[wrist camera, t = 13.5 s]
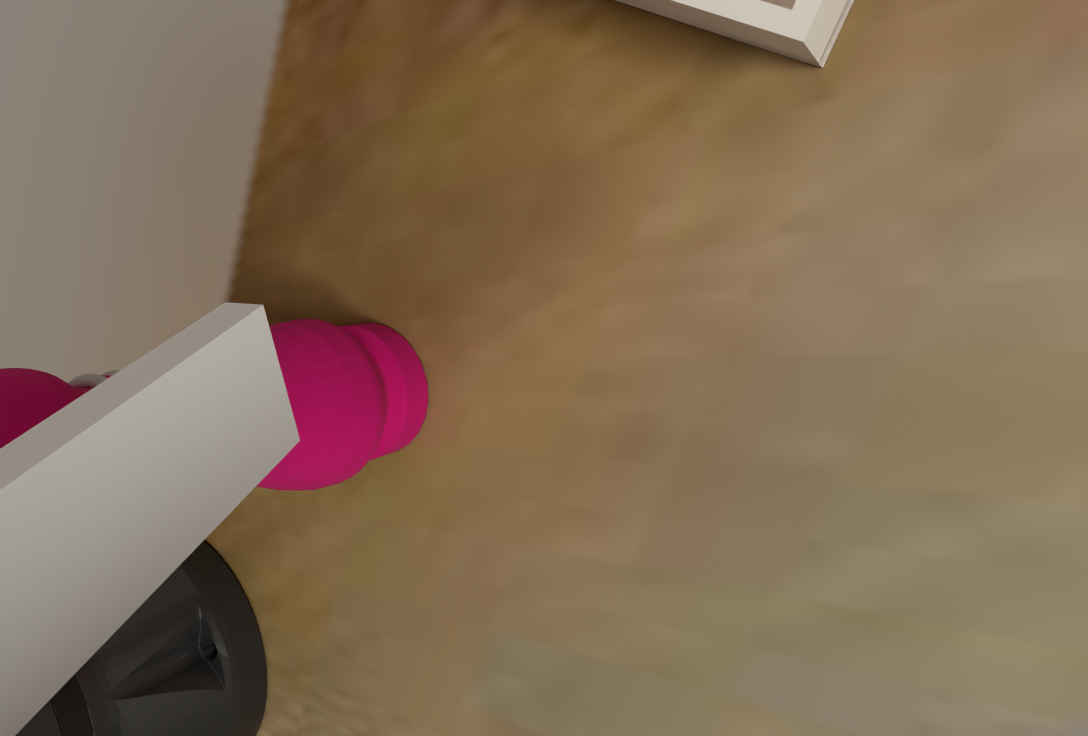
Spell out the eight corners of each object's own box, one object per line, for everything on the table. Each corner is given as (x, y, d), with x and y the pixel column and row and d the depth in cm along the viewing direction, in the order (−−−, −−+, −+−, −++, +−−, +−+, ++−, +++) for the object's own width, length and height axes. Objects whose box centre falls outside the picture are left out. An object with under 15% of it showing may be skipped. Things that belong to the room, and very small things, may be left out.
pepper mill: (300, 354, 38) (-257, 437, 21) (395, 284, 34) (-180, 312, 17) (360, 484, 37) (-168, 685, 20) (463, 426, 34) (-68, 608, 16)
